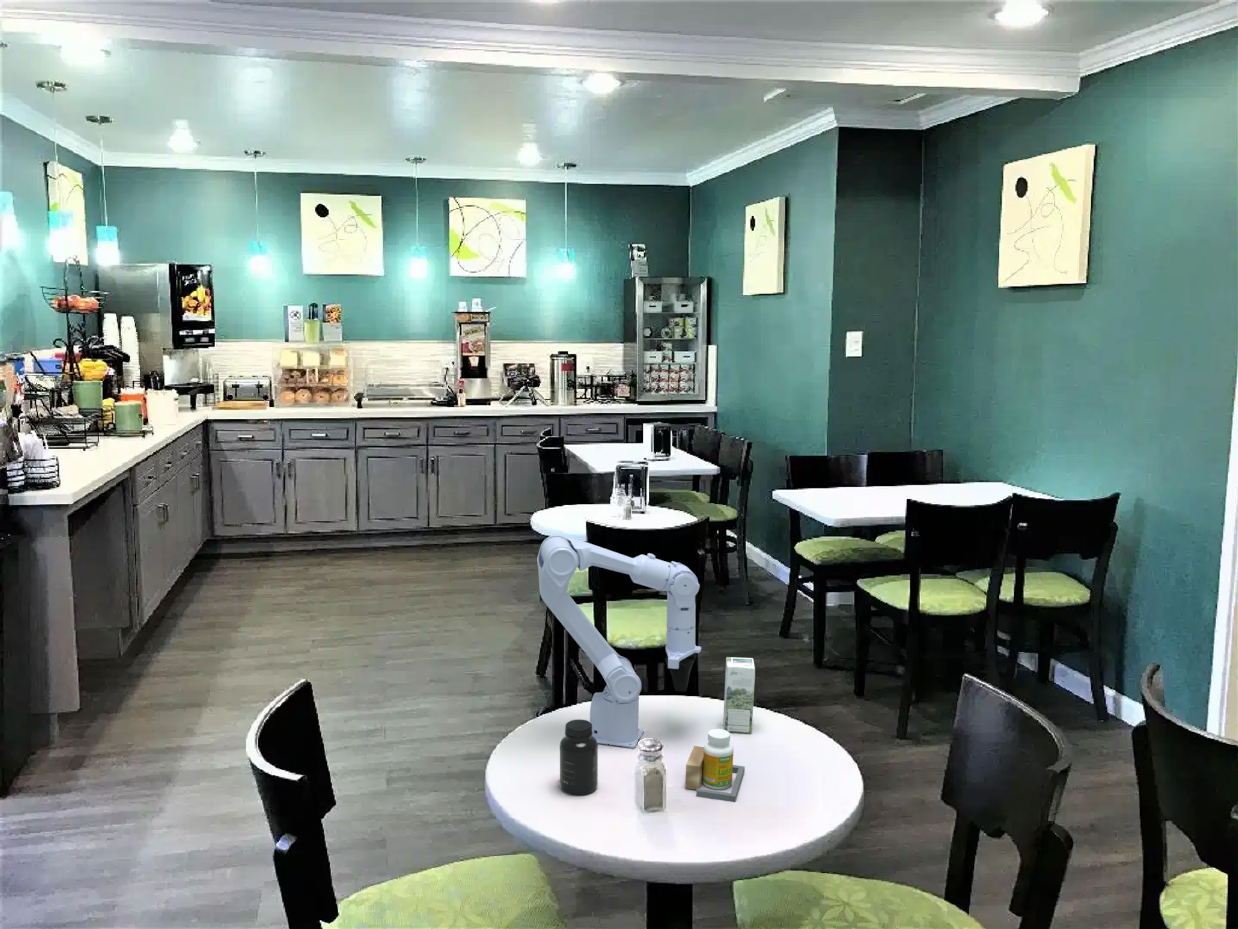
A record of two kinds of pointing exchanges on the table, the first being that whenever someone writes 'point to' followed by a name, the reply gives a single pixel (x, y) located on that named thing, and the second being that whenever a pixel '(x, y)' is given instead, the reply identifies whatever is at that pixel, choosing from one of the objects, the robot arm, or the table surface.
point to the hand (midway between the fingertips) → (680, 690)
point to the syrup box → (739, 695)
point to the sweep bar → (694, 768)
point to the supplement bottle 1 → (578, 759)
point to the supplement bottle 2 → (718, 760)
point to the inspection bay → (725, 795)
